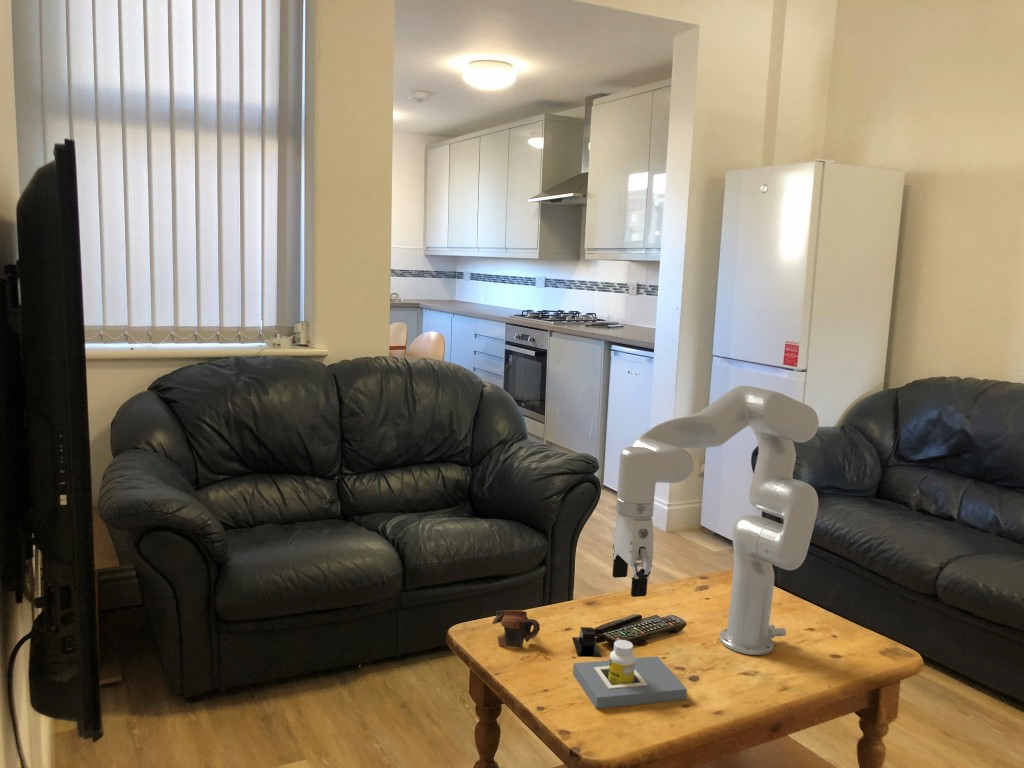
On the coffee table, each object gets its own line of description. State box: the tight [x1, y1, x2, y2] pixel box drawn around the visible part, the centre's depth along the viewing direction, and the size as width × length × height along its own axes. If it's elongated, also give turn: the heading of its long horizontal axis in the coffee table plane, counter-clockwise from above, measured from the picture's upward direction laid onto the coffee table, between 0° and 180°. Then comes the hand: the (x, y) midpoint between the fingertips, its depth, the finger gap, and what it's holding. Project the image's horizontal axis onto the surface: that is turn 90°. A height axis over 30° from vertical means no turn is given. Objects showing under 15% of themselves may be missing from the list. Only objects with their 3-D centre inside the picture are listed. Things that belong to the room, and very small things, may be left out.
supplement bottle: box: [608, 639, 636, 685], centre depth 169 cm, size 5×5×10 cm
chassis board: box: [572, 655, 688, 710], centre depth 170 cm, size 20×14×3 cm
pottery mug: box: [491, 609, 541, 648], centre depth 188 cm, size 12×10×8 cm
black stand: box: [571, 626, 602, 658], centre depth 187 cm, size 12×7×5 cm, turn 4°
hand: (628, 586), depth 166 cm, fingers open, 9 cm apart
